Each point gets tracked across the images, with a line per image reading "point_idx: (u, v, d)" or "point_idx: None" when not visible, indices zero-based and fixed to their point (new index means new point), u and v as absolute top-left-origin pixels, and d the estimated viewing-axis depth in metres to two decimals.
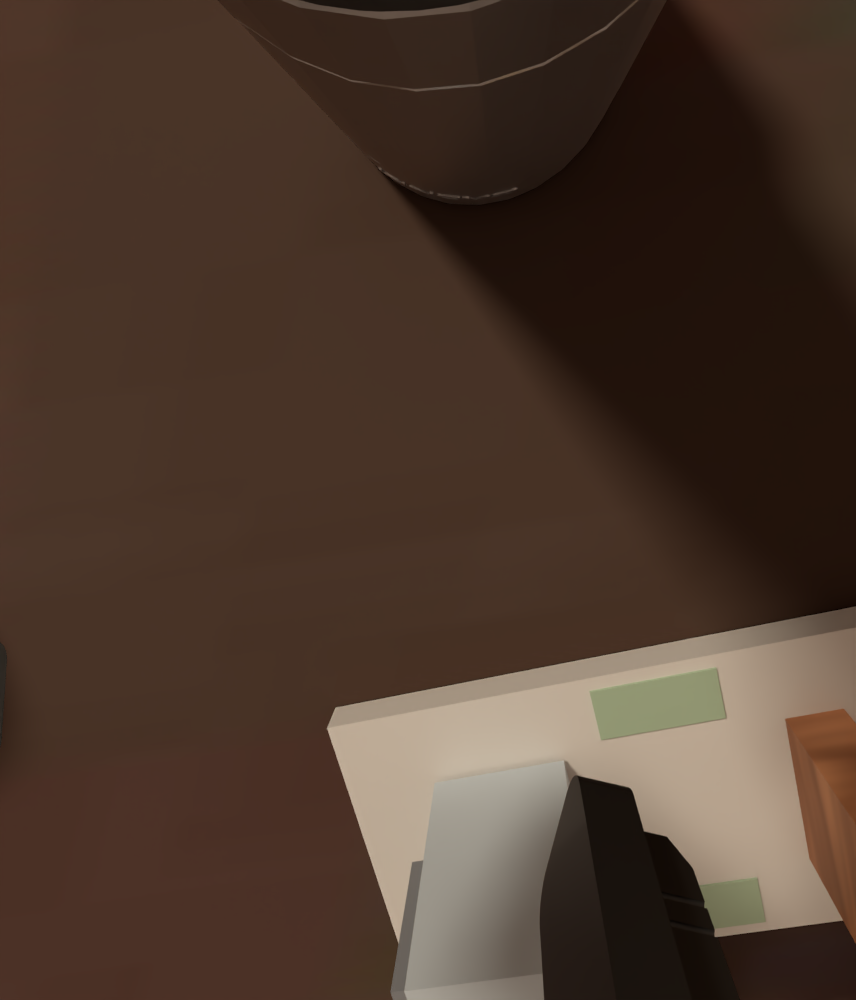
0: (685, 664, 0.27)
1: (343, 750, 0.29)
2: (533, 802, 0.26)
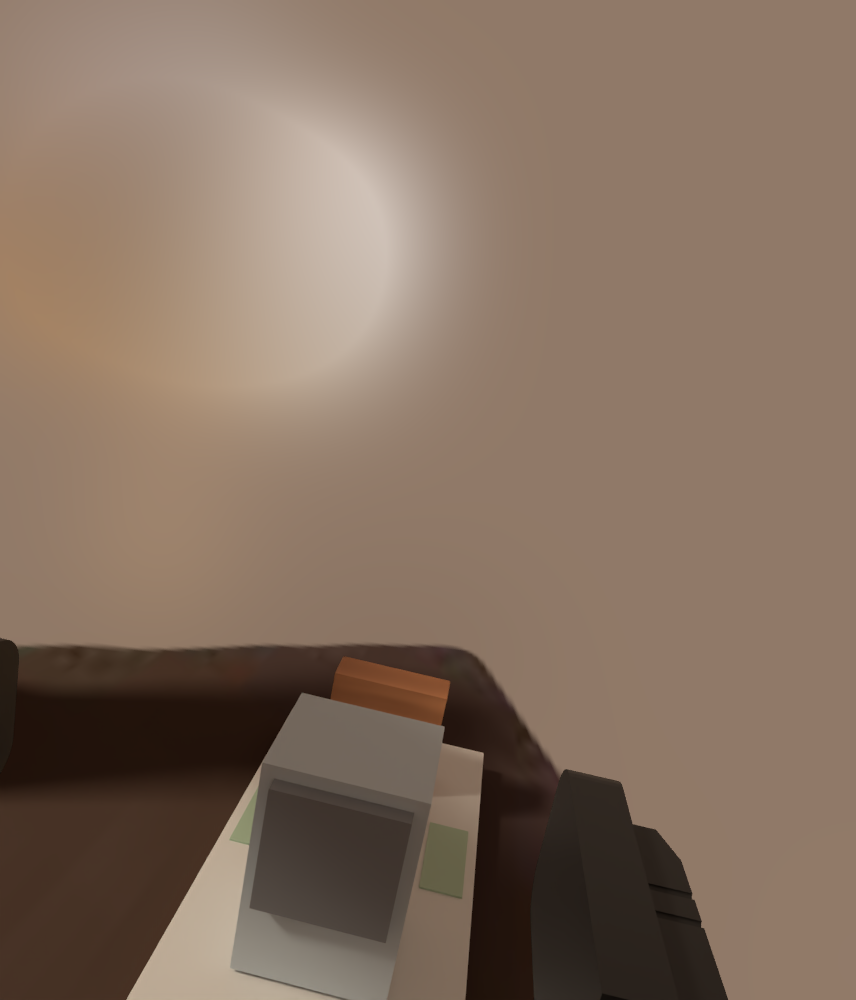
0: (249, 792, 0.38)
1: None
2: None
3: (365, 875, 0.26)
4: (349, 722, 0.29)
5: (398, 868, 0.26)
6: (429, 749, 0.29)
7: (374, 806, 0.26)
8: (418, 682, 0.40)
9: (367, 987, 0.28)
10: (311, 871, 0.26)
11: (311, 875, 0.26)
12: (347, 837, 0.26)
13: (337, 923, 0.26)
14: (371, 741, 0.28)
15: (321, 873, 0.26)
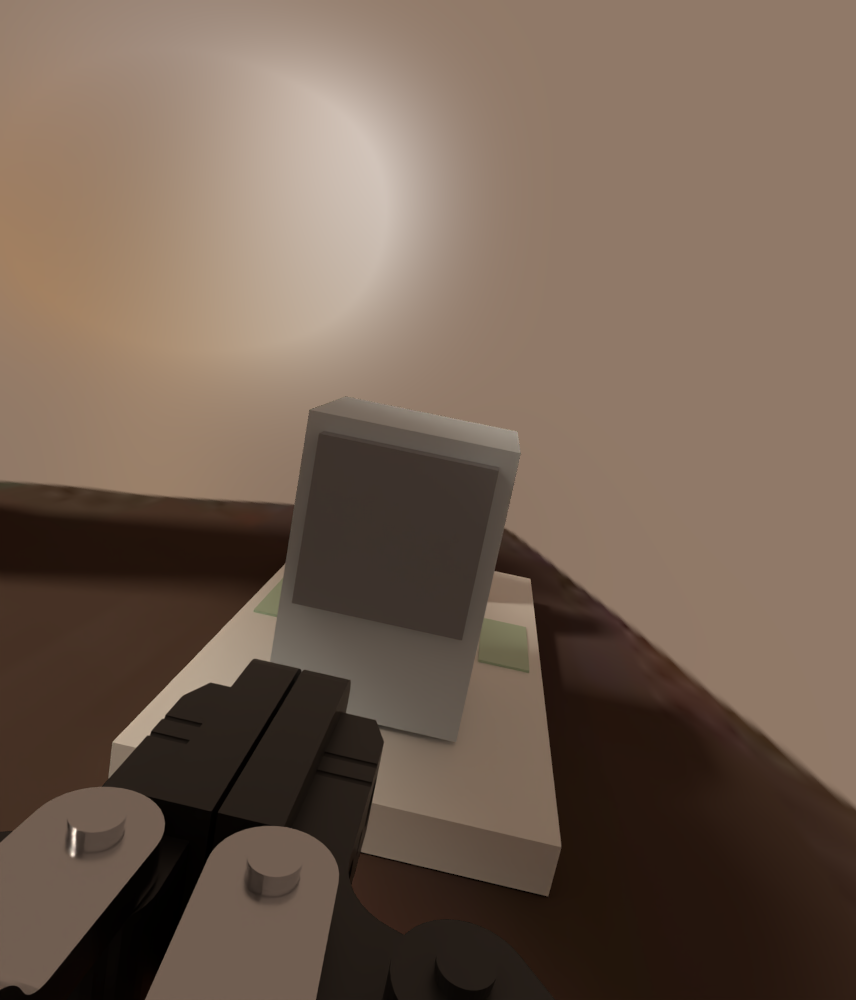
0: (272, 582, 0.33)
1: None
2: None
3: (438, 547, 0.21)
4: (406, 413, 0.24)
5: (480, 534, 0.21)
6: (504, 435, 0.24)
7: (450, 457, 0.21)
8: None
9: (434, 713, 0.23)
10: (370, 546, 0.21)
11: (370, 551, 0.21)
12: (417, 495, 0.21)
13: (401, 617, 0.21)
14: (435, 422, 0.23)
15: (383, 547, 0.21)
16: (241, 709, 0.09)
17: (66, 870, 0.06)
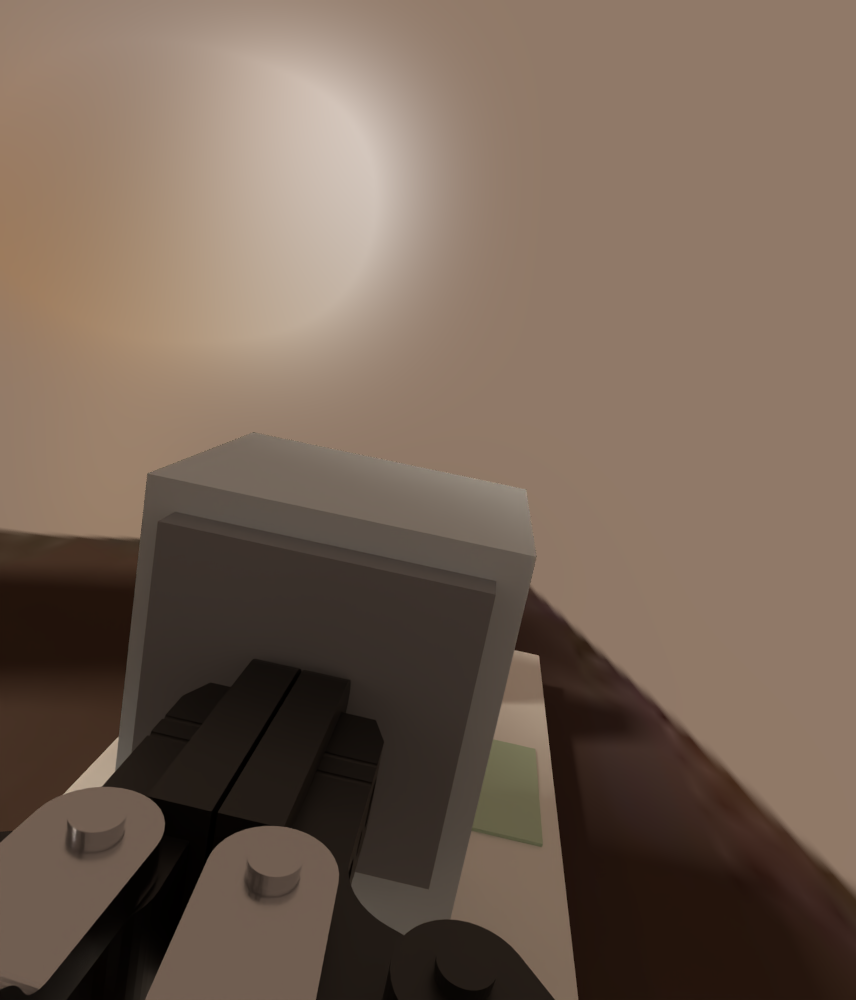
0: None
1: None
2: None
3: (383, 729, 0.11)
4: (344, 464, 0.15)
5: (461, 707, 0.11)
6: (506, 503, 0.14)
7: (405, 564, 0.11)
8: None
9: None
10: None
11: None
12: (342, 635, 0.11)
13: None
14: (389, 483, 0.14)
15: None
16: (241, 709, 0.09)
17: (65, 870, 0.06)
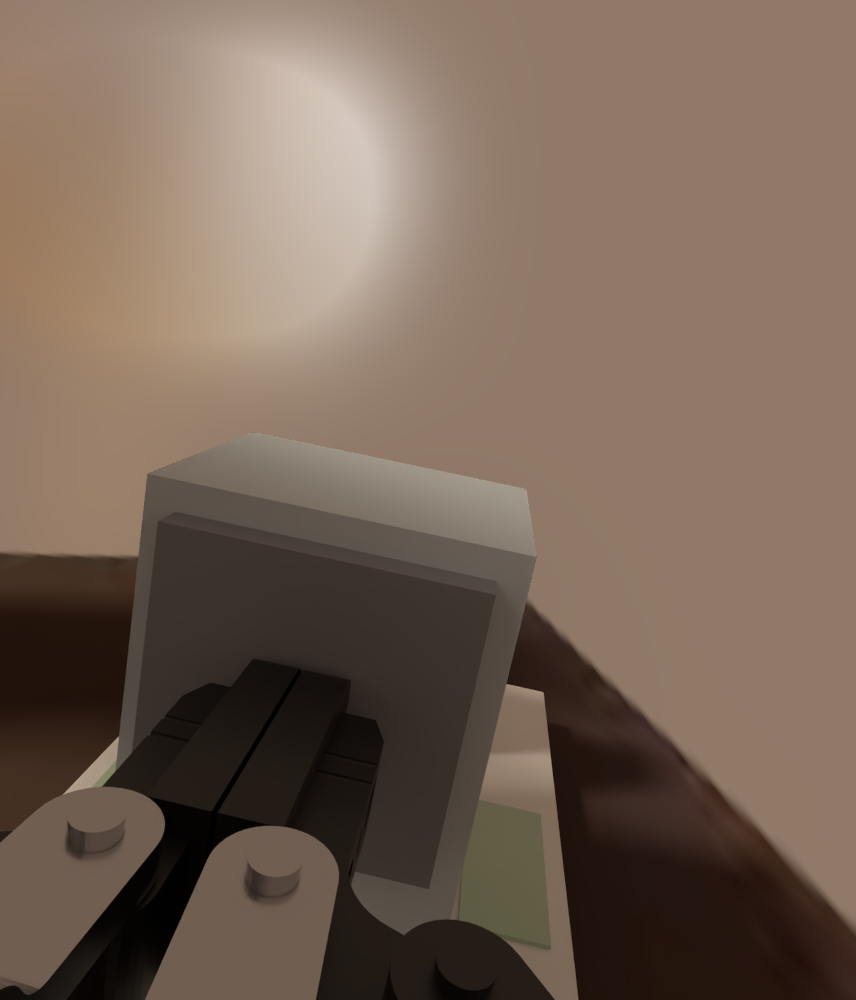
0: None
1: None
2: None
3: (383, 729, 0.11)
4: (344, 463, 0.15)
5: (461, 707, 0.11)
6: (506, 503, 0.14)
7: (405, 564, 0.11)
8: None
9: None
10: None
11: None
12: (343, 635, 0.11)
13: None
14: (389, 483, 0.14)
15: None
16: (241, 709, 0.09)
17: (66, 870, 0.06)
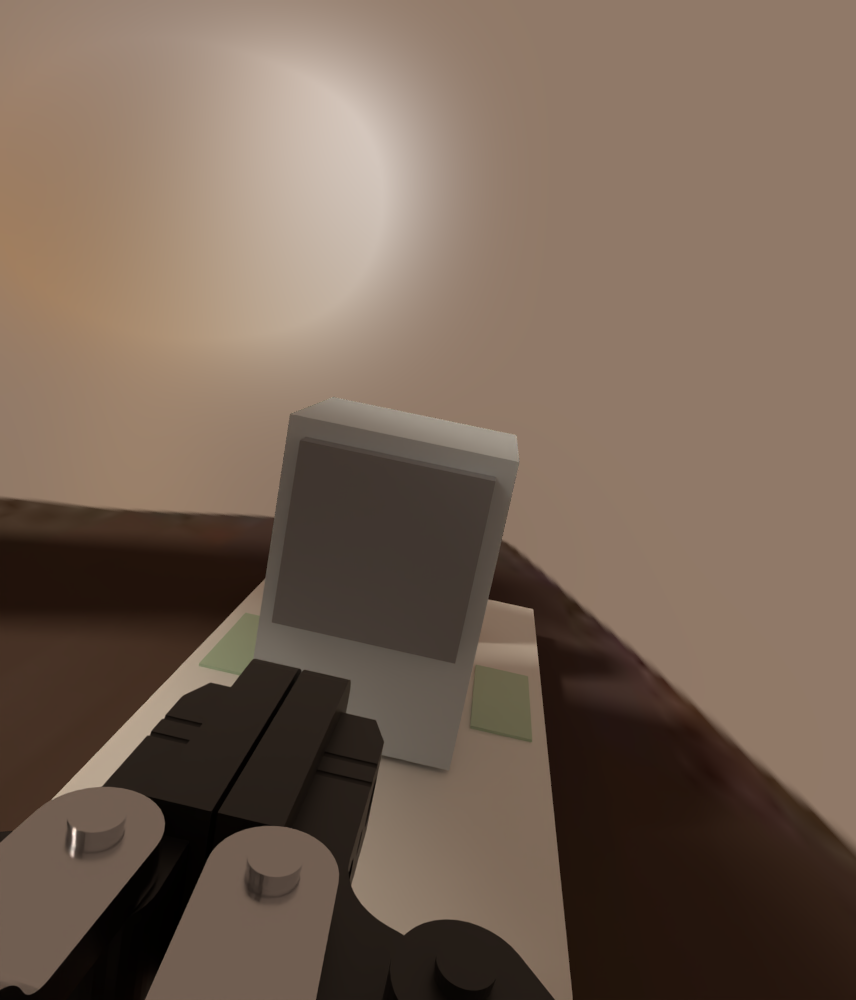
0: (228, 623, 0.28)
1: None
2: None
3: (429, 563, 0.19)
4: (397, 416, 0.23)
5: (475, 549, 0.19)
6: (502, 440, 0.22)
7: (442, 466, 0.19)
8: None
9: (426, 740, 0.21)
10: (356, 562, 0.19)
11: (356, 567, 0.19)
12: (406, 507, 0.19)
13: (390, 638, 0.20)
14: (428, 427, 0.22)
15: (371, 563, 0.19)
16: (241, 709, 0.09)
17: (66, 870, 0.06)
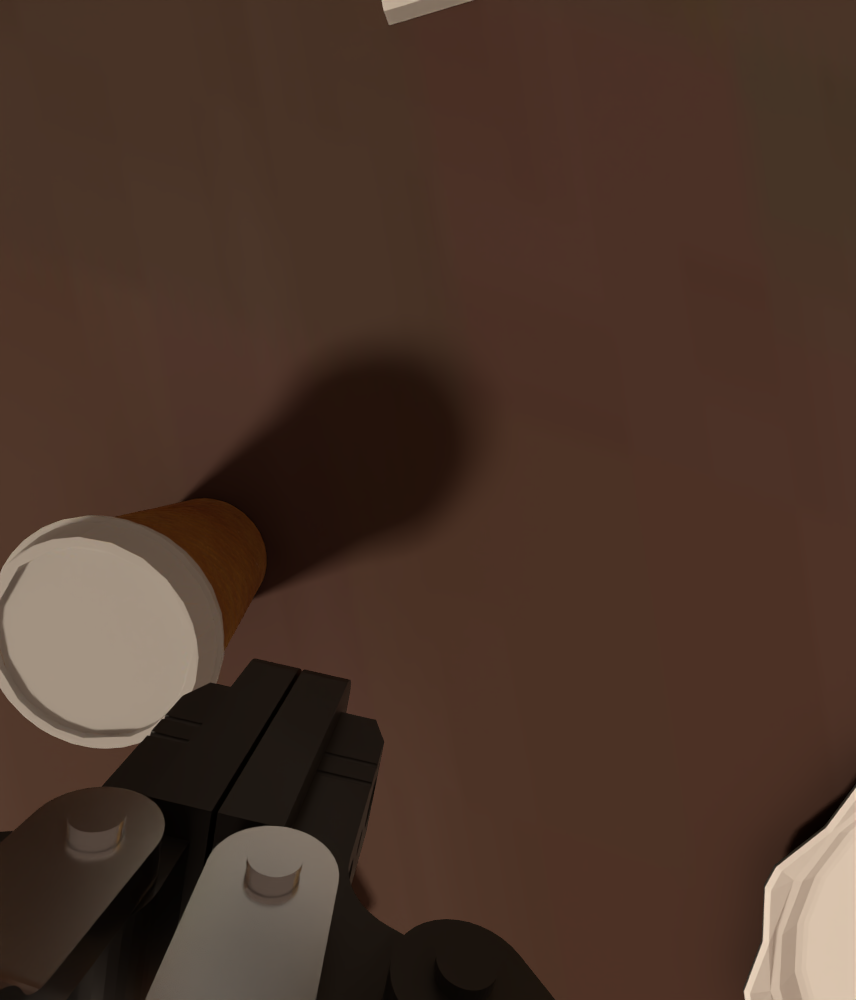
0: None
1: None
2: None
3: None
4: None
5: None
6: None
7: None
8: None
9: None
10: None
11: None
12: None
13: None
14: None
15: None
16: (241, 709, 0.09)
17: (66, 870, 0.06)
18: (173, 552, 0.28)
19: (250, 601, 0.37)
